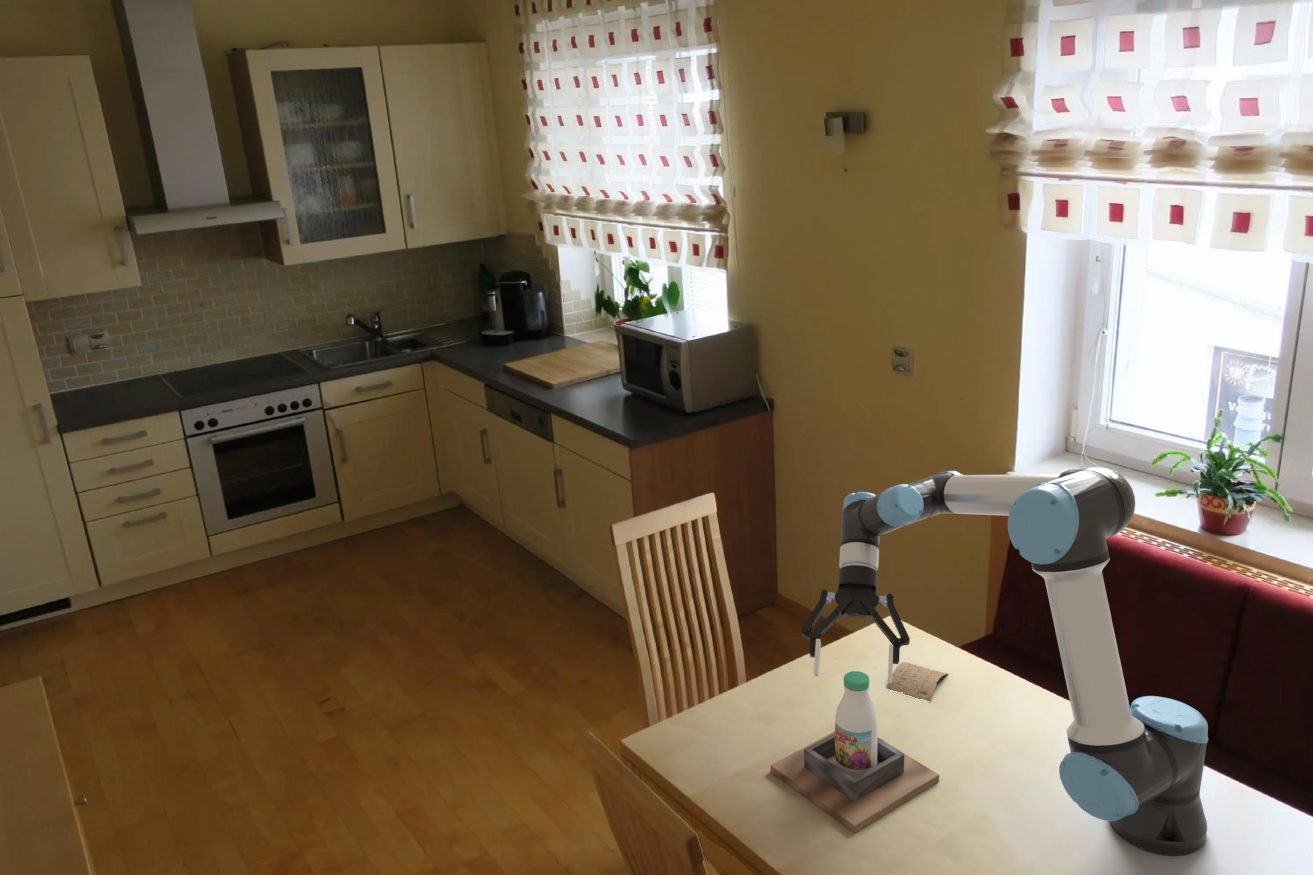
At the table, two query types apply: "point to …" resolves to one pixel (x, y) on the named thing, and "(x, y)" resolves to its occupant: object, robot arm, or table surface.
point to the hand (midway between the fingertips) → (852, 677)
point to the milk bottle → (856, 727)
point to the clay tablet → (914, 680)
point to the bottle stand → (854, 781)
